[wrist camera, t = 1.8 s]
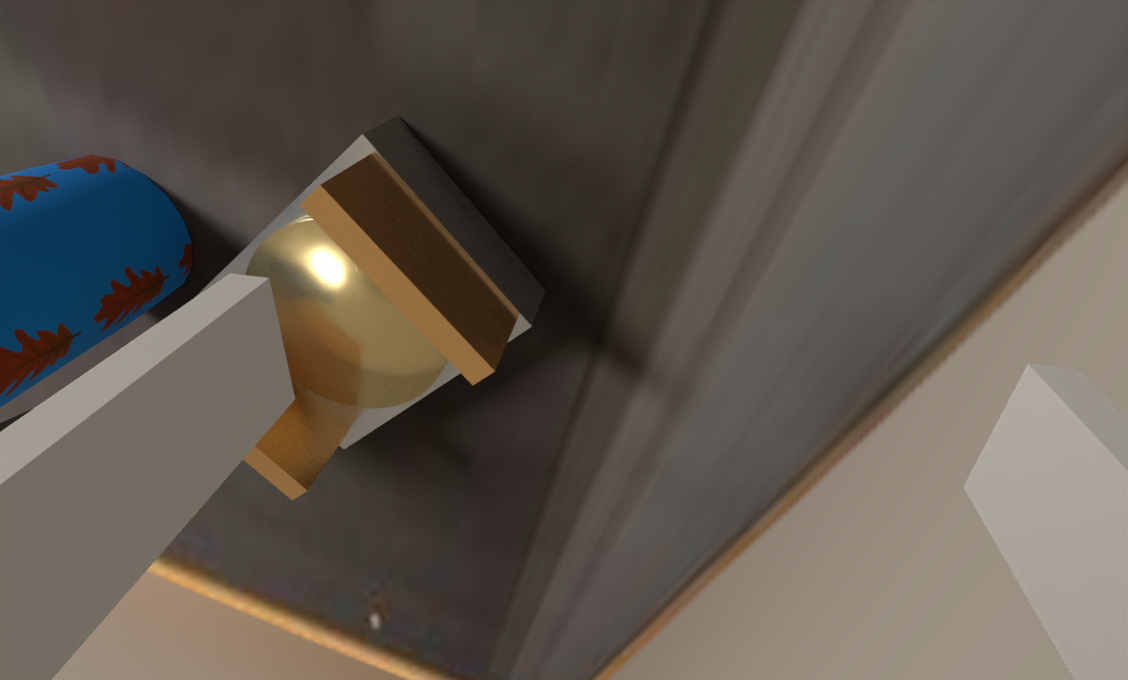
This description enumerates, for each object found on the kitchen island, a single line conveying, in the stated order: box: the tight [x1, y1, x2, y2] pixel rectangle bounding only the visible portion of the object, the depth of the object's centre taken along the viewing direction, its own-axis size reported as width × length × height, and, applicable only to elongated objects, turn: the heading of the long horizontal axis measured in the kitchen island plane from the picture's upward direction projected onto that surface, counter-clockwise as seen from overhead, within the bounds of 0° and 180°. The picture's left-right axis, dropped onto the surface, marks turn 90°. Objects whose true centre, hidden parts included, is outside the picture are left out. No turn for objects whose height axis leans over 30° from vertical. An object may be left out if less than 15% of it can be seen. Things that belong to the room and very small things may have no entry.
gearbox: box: [196, 116, 546, 500], centre depth 38 cm, size 14×18×11 cm
